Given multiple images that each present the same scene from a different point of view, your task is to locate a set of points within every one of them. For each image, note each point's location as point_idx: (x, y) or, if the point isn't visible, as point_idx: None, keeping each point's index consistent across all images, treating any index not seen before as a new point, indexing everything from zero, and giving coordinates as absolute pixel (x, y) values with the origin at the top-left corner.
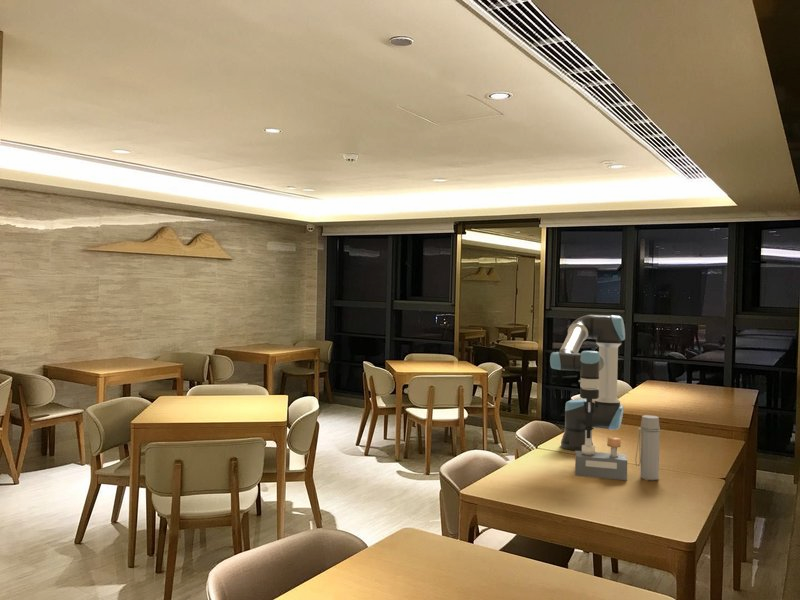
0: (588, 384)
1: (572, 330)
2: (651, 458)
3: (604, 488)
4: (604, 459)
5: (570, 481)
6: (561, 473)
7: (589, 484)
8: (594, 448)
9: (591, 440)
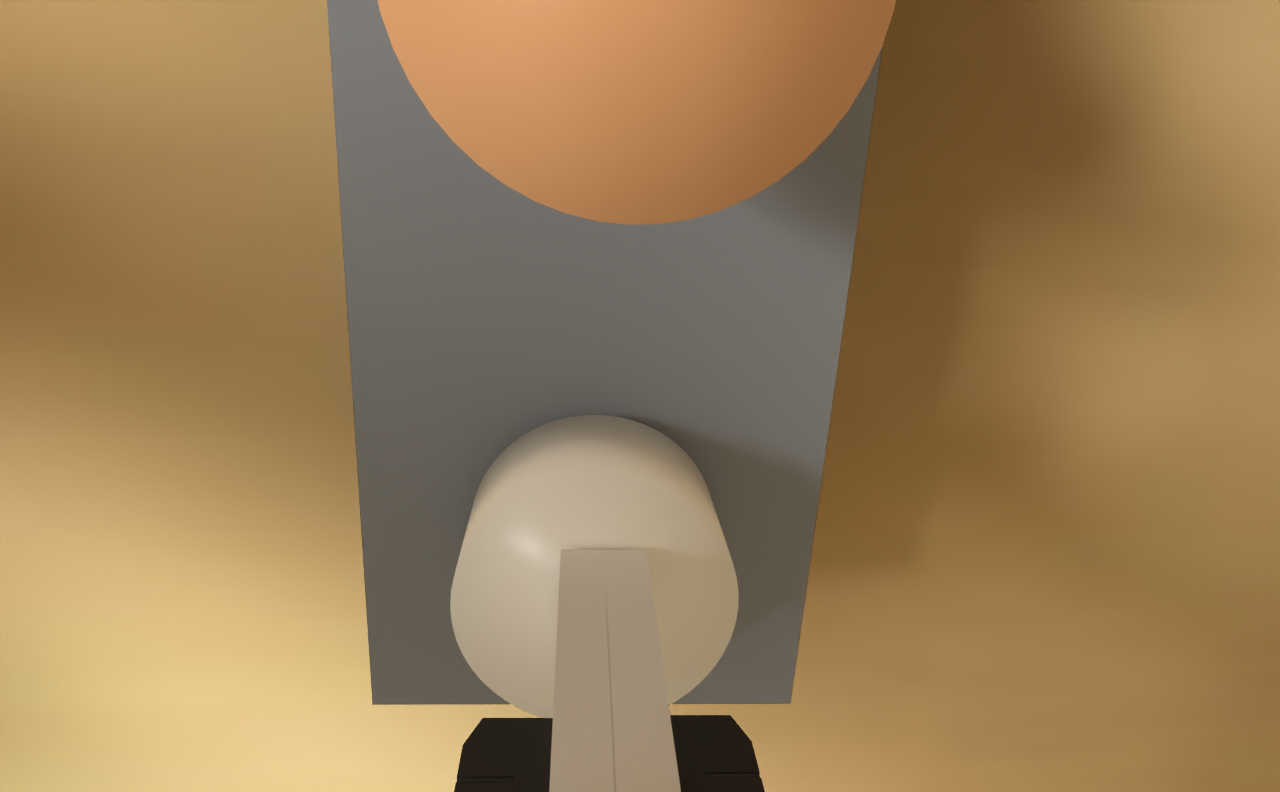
0: None
1: None
2: None
3: (1227, 227)
4: (847, 238)
5: (981, 584)
6: None
7: (1075, 393)
8: (654, 474)
9: (655, 640)
